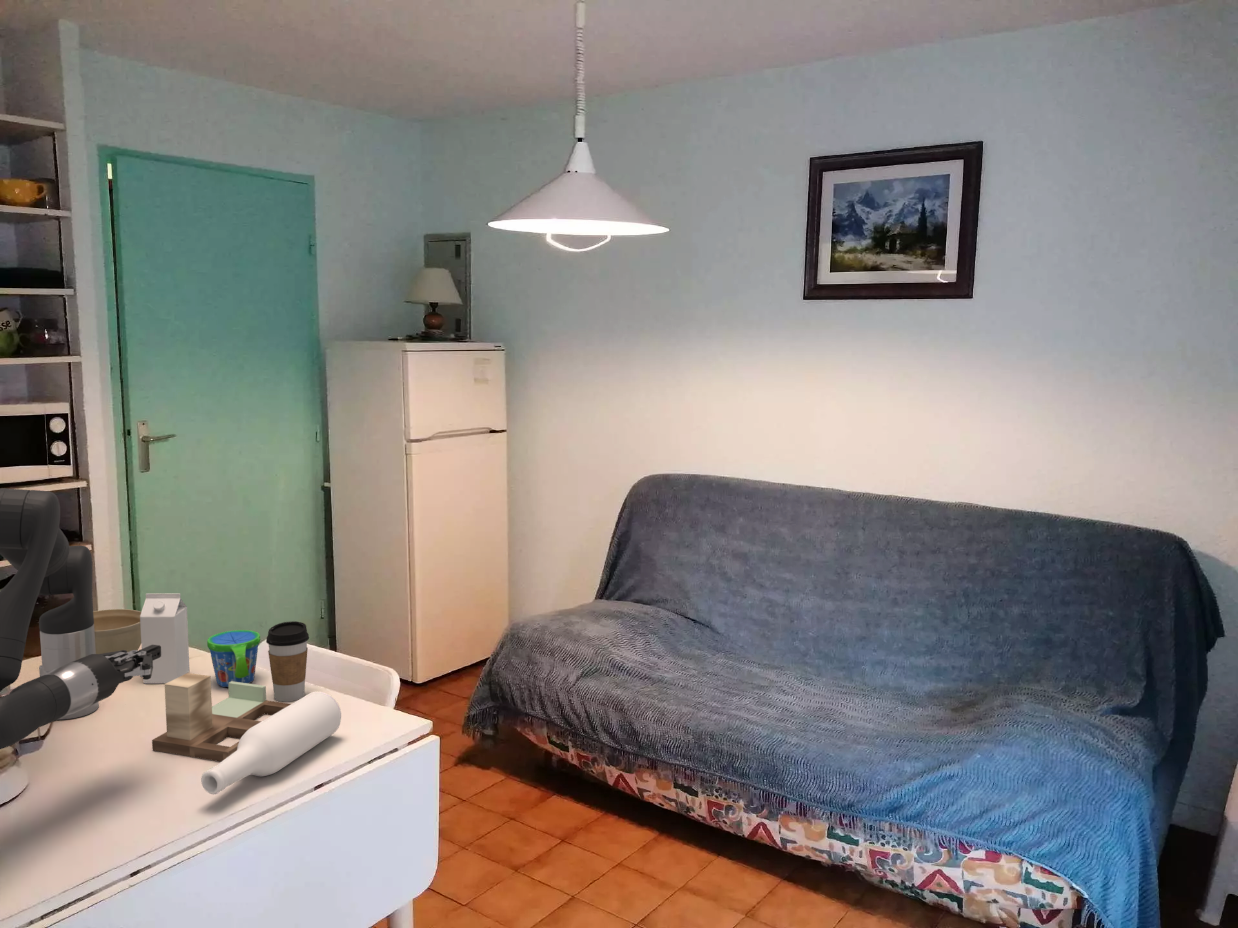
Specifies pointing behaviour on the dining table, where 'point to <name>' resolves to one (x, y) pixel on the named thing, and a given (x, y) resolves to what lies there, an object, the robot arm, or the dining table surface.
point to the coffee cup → (288, 659)
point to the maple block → (188, 706)
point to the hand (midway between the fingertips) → (157, 650)
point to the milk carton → (166, 635)
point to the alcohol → (277, 741)
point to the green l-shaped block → (240, 699)
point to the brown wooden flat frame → (217, 734)
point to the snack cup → (234, 655)
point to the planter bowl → (117, 630)
